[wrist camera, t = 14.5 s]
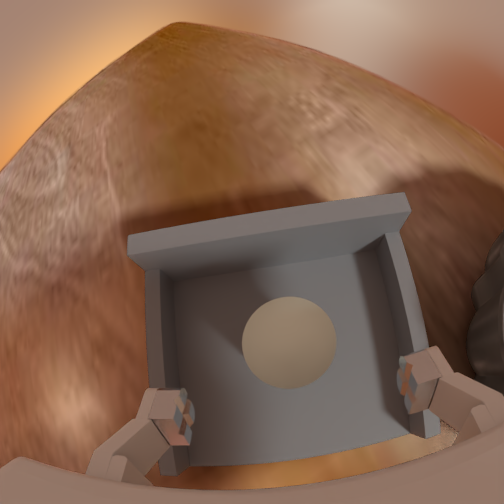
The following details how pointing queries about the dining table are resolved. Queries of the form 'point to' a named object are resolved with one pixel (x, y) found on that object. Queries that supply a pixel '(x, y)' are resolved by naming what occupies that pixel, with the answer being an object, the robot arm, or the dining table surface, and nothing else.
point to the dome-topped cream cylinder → (289, 342)
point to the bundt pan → (489, 321)
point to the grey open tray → (269, 288)
